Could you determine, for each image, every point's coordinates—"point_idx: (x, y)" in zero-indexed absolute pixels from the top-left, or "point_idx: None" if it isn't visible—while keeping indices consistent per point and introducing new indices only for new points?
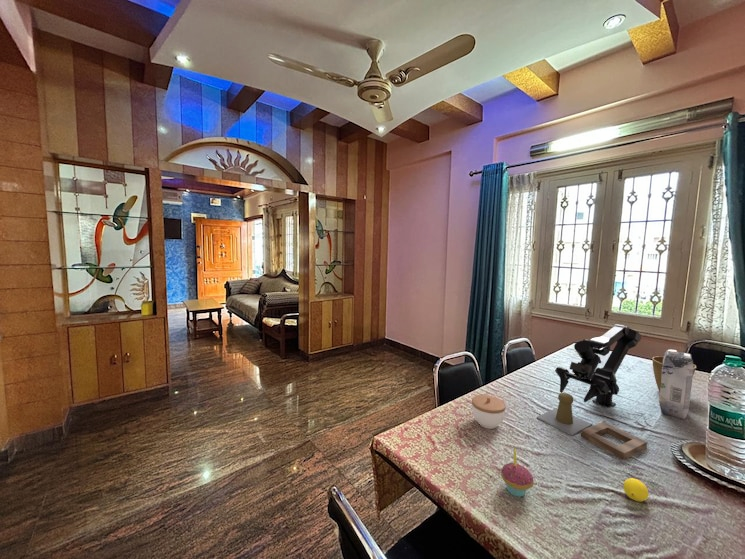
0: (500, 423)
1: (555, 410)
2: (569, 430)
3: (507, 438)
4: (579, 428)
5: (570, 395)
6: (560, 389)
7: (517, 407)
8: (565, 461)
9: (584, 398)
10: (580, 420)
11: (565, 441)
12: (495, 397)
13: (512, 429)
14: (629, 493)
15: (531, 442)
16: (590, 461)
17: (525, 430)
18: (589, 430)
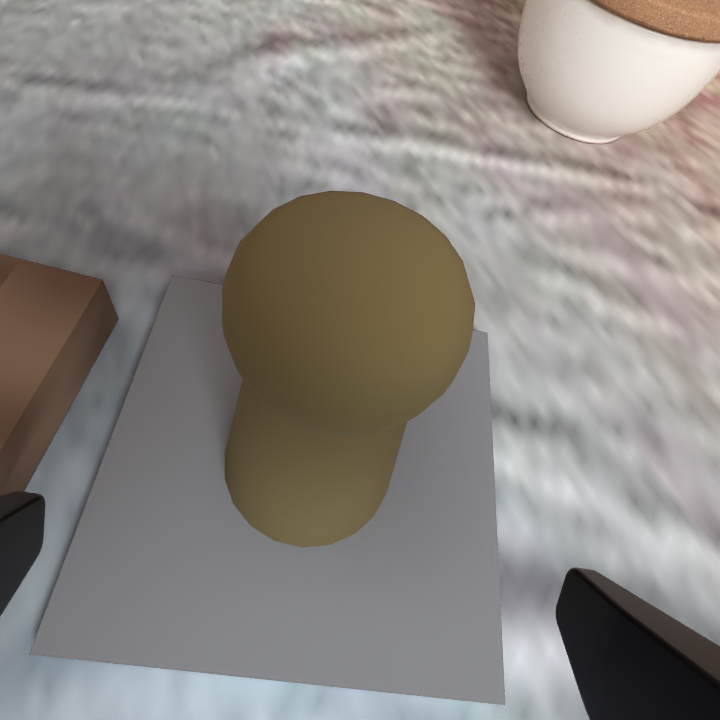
0: (519, 60)
1: (471, 614)
2: (210, 316)
3: (433, 66)
4: (144, 416)
5: (287, 290)
6: (619, 592)
7: (672, 388)
8: (145, 54)
9: (4, 513)
10: (172, 617)
11: (197, 198)
12: (710, 7)
13: (473, 133)
14: None
15: (340, 93)
16: (19, 110)
17: (426, 162)
18: (24, 332)
